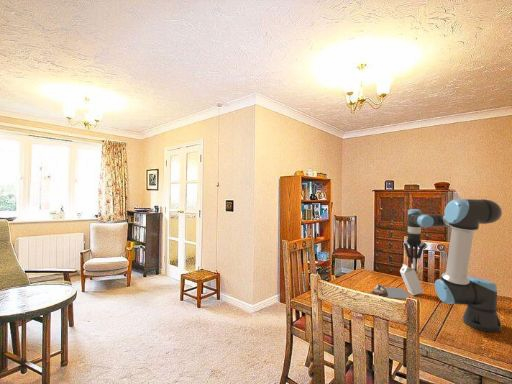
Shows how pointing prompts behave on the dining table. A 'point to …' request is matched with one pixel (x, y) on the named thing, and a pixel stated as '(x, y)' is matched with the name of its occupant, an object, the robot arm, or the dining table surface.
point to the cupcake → (380, 291)
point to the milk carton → (411, 280)
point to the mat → (397, 293)
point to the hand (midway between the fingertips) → (413, 268)
